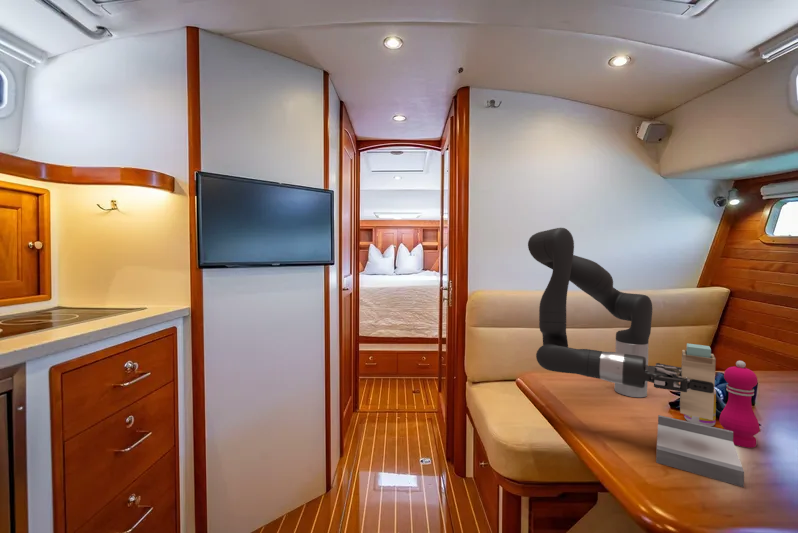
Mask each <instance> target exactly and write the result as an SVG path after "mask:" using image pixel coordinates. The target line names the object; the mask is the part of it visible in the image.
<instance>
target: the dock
mask: <svg viewBox="0 0 798 533" xmlns="http://www.w3.org/2000/svg"><path fill="white" fill-rule="evenodd" d="M656 434H657V436H656V453H655V454H656V456H655V458H656V459H655V462H656V464H660V465H663V466H667V467H671V468H674V469H678V470H682V471H685V472H688V473H693V474H695V475H698V476H699V475H700V476H702V477H706V478H708V479H713V480H716V481H720V482H723V483H728V484H731V485H733V486H738V487H742V488H744V487H745V486H744V485H745V470H744V467H743V465H742V463H741V459H740V458H739V454H738V451H737V448H736V447H735V446H736V445H734V443H733V431H729V430H725V429H724V428H719V427H715V426H706V425H702V424H697V423H693V422H689V421H687V420H683V419H677V418H673V417H669V416H665V415H659V414H658V416H657V433H656Z"/></svg>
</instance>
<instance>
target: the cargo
mask: <svg viewBox="0 0 798 533" xmlns="http://www.w3.org/2000/svg"><path fill="white" fill-rule="evenodd" d="M685 350H686V355H692V356H699V357H706V358H711V354H712V349H711V347H710V346H709V345H702V344H695V343H694V344H693V343H688V342H687V343H686V349H685Z"/></svg>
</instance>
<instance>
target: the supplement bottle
mask: <svg viewBox="0 0 798 533" xmlns="http://www.w3.org/2000/svg"><path fill="white" fill-rule="evenodd" d="M716 402H717V390H716V389H715V387H714V407H713V420H709V419H705V418H700V417H696V416H691V415H687V414H683V416H684V419H685V421H688V422H693V423H697V424H702V425H706V426H711V427H715V425H716V417H717V416H716V412H717V403H716Z"/></svg>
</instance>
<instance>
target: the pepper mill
mask: <svg viewBox="0 0 798 533" xmlns="http://www.w3.org/2000/svg"><path fill="white" fill-rule="evenodd" d="M746 364H747V363H746V362H744V361H743V360H737V361H736V362H735V365H736V366H730V367H727V368H726V369H725V370H724V372H723V378H724V380H725V381H726V383H727V384H726V389H725V390H726V391H727V392H728V398H727V402H726V404H725V406H724V408H723V410H721V412H720V414H719V419H718V420H719V424H720V425H721V427H722V429H725V430H729V431H733V443H734V445H735V446H738V447H742V448H750V449H753V448H756V446H757V438H756V437H755V436H756V435H757V434H758V433H760V430H761V429H760V423H759V420H758V418H757V416H756V414H755V412H754V409H753V404H752V397H753V396H754V395H755V389H754V387H756V386H757V384H758V381H759V380H758V377H757V374H756V373H755V372H754V371H753V370H751V369H750V368H747V367H746Z"/></svg>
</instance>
